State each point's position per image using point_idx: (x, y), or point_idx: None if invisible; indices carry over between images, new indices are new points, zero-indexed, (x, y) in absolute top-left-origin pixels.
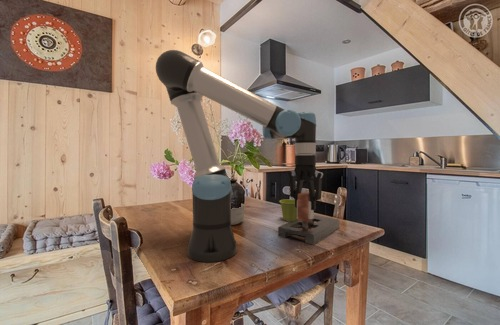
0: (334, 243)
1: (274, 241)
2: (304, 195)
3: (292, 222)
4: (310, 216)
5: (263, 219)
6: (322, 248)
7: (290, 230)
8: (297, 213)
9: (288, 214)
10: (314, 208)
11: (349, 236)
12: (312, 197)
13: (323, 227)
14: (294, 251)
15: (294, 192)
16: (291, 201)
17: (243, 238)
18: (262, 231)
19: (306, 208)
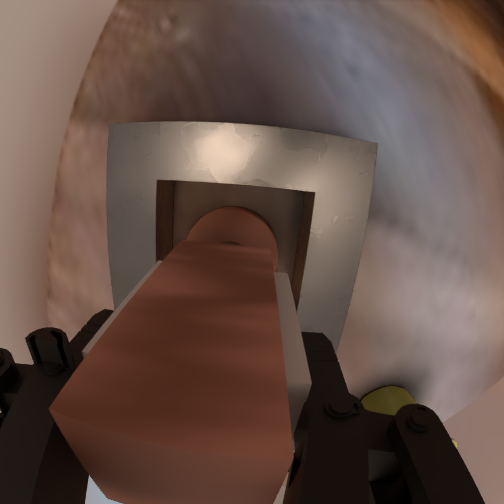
0: (74, 211)
1: (332, 60)
2: (116, 416)
3: (332, 293)
4: (149, 271)
5: (479, 343)
6: (92, 117)
7: (277, 127)
8: (283, 285)
9: (392, 408)
10: (93, 322)
11: (75, 328)
12: (28, 384)
13: (123, 293)
14: (185, 8)
15: (388, 495)
16: None
17: (459, 51)
18: (450, 178)
19: (154, 289)
